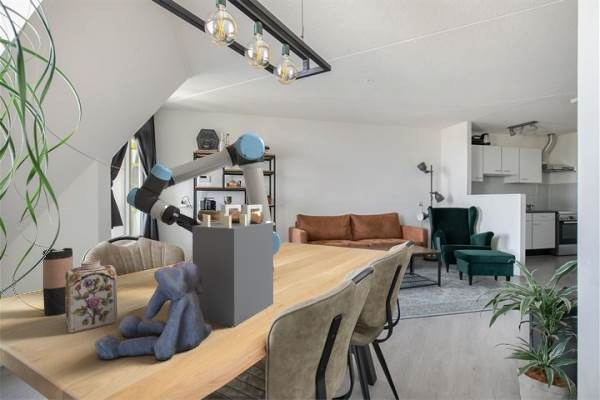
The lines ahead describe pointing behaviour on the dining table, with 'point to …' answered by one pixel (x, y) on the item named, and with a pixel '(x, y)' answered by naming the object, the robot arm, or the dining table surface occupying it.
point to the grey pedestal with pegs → (234, 266)
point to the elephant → (159, 335)
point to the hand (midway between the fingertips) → (214, 237)
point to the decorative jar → (90, 296)
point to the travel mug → (55, 280)
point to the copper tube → (235, 216)
